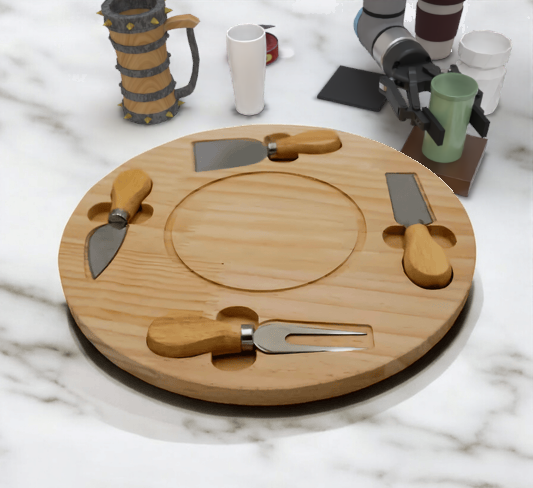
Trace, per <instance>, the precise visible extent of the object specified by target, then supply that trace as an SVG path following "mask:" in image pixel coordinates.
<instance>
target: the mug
mask: <svg viewBox="0 0 533 488" xmlns="http://www.w3.org/2000/svg"><path fill="white" fill-rule="evenodd" d="M166 1H167V0H104V1H103V2H102V3H101V4H100V10H99V11H97V12H96V13H95V14H96V15H99V16H102V17H103V24H102V26H104V27H105V28H107V30H108V33H109V34H108V37H107V38H108V40H109V41H110V44H111V45H112V48H113V49H114V51H115V56H116V60H115V61H116V64H115V65H114V69H115V70H118V72H119V73H120V78H121V80H120V82H119V83H118V87H119V88H120V94H121V95H122V97H123V98H122V99H121V102H120V103H118V104H117V106H118V107H121V108H122V109H123V115H124V117H123V119H124V120H128V121H130V122H132V123H135V124H138V125H155V124H161V123H163V122H166V121H169V120H171V119H172V118H174V117H175V116H176V115H177V114H178V112H179V111H180V109H181V106H182V105H184V104H186V102H185V101H182V100H180V99H182V98H183V99H184V98H186V97H188V96H190V95H192V93H194V91H195V89H196V86H197V83H198V78H199V72H200V71H199V70H200V61H201V58H200V53H199V47H198V43H197V40H196V35H195V30H194V29H195V28H196V27H197V26H198V25H199V23H200V22H201V20H200V18H199V17H197V16H195V15H193V14H191V13H186V14H185V13H184V14H177V15H173V16H170V17H168V14H169V13H171V12H173V11H174V10H173V9H171V8H169V7H166V6H167V5H166ZM176 29H185V31H186V39H187V42H188V46H189V50H190V54H191V59H192V60H191V61H192V67H191V69H192V70H191V74H190V78H189V81H188V83H187V84H186V85H185V86H182V87H179V88H176V85H177V81H176V80H175V79H174V77H173V74H172V73H171V69H170V65H171V59H170V58H171V57H172V54H171V52H169V51H168V50H167V49H168V47H167V41H168V39H170V34H169V32H168V31H172V30H176Z"/></svg>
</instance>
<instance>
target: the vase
mask: <svg viewBox="0 0 533 488" xmlns="http://www.w3.org/2000/svg"><path fill="white" fill-rule="evenodd" d="M458 43H459V44H458V47H457V55H458V60H456V63H455V65H457V67H458V69H459V71H460V72H461V73H462V74H464V75H467V76H469V77H471V78H473V79H474V80H475V81H476V82H477V83H478V88H479V89H480V90H481V91H482V92H483V97H482V102H481V106H480V107H481V108H482V109H483V110H484V115H485V116H487V115H491V114H493V113H494V111H495V110H496V109H497V107H498V105H499V102H500V98H501V92H502V90H503V86H504V83H505V79H506V75H507V67H506V66H505V65H506V64H508V62H509V61H510V57H511V53H512V50H513V47H514V46H513V42H512V38H510V37H508V36H507V35H505V34H503V33H502V32H498V31H493V30H489V29H475V30H470V31H469V32H466V33H463V34H462V36H461V38H460V39H459V42H458Z"/></svg>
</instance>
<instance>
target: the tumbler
mask: <svg viewBox="0 0 533 488" xmlns="http://www.w3.org/2000/svg"><path fill="white" fill-rule="evenodd" d="M430 88H431V93H430V95H429V102H428V106H427V108H428V109H429V110H430V111H431V113H432V114H433V115H434V116H435V118H436V119H437V120H438V121H439V123H440V124H441V125H442V126H443V128H444V129H445V135H444V140H443V145H442V146H437V145H436V143H435V142H434V141H433V139H432V138H431V137H430V135H429V134H428V133H427V131H426V130H425V131H424V137H423V143H422V152H423V154H424V155H425V156H426V157H427V158H429V159H430V160H433V161H436V162H441V163H449V162H454V161H456V160H458V159H459V158H460V157H461V156H462V154H463V149H464V144H465V140H466V135H467V134H468V130H469V125H470V123H469V122H470V117H471V113H472V108H473V104H474V99H475V96H476V94H477V92H478V83H477V82H476V81H475V80H474V79H473V78H471V77H469V76H467V75H464V74H460V73H443V74H440V75H437V76H435V77H434V78H433V79H432V81H431V86H430Z"/></svg>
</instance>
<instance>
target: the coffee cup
mask: <svg viewBox="0 0 533 488" xmlns="http://www.w3.org/2000/svg"><path fill="white" fill-rule="evenodd" d="M466 1H467V0H417V1H416V4H415V18H414V19H415V21H414V34H415V35H414V36H415V37H414V38H415V39H416V40H417V41H418V42H419V43H420V45H421V46H422V47H423V48H424V49H425V50H426V51H427V52H428V54H429V55H430V57H431V60H432V61H434V60H435V61H436V60H438V61H439V60H442V59H446V58H448V57H449V56H450V54H451V53H452V49H453V45H454V42H455V38H456V37H457V34H458V31H459V27H460V23H461V19H462V15H463V11H464V2H466Z"/></svg>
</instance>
